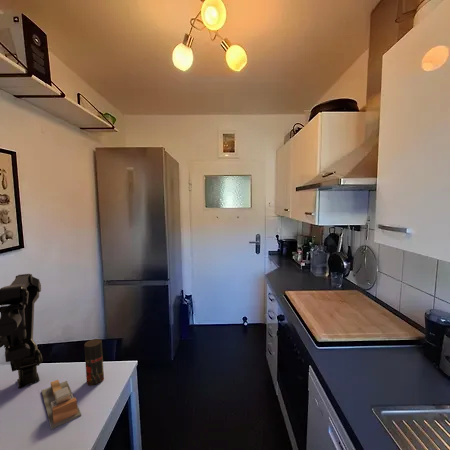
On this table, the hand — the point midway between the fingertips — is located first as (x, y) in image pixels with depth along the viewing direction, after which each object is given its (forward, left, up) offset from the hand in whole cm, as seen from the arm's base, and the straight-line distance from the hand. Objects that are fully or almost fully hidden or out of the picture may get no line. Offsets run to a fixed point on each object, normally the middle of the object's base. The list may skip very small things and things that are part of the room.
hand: (18, 368), depth 92 cm
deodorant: (+5, +22, -12) cm, 26 cm away
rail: (+10, +10, -12) cm, 19 cm away
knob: (+16, +10, -12) cm, 22 cm away
